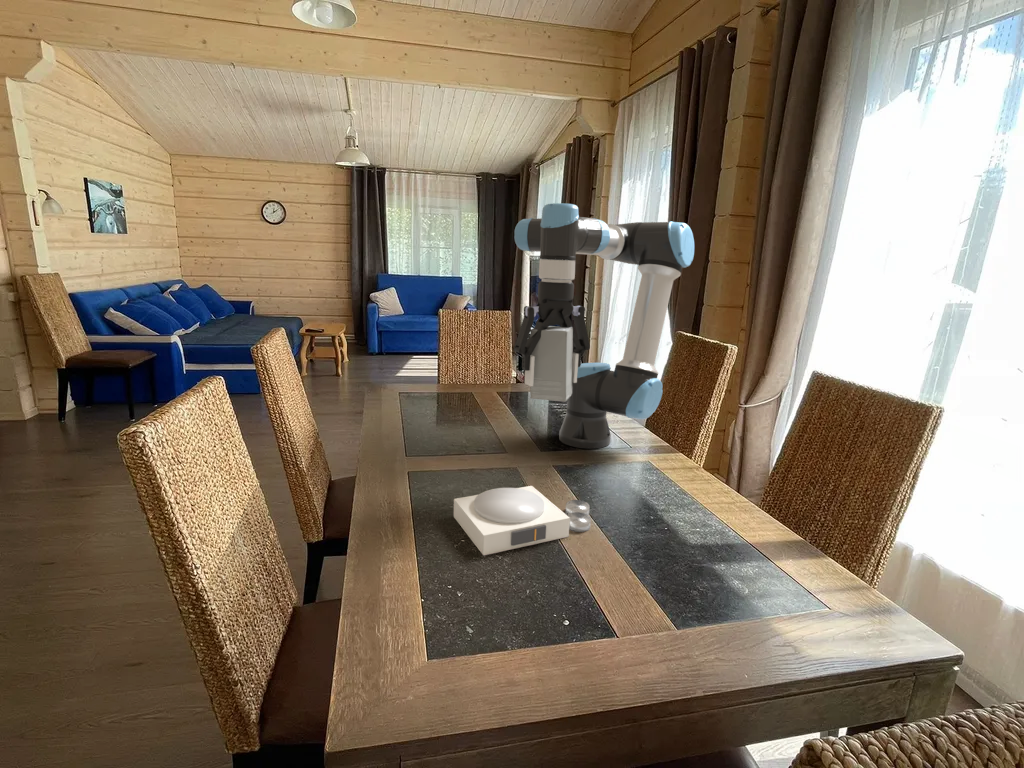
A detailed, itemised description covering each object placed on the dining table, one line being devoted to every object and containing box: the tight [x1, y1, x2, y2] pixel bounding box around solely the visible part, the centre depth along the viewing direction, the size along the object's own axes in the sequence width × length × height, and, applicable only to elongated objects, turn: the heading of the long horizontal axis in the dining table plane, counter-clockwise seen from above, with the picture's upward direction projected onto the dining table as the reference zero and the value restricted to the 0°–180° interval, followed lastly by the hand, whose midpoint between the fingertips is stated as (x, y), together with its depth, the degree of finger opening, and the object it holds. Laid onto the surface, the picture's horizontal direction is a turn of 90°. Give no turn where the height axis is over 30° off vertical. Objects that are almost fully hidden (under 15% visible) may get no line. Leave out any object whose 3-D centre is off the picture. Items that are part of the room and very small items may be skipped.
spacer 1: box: [565, 499, 591, 516], centre depth 116 cm, size 5×5×2 cm
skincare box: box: [529, 325, 574, 403], centre depth 119 cm, size 8×7×16 cm
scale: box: [453, 485, 570, 556], centre depth 109 cm, size 18×17×5 cm
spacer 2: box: [566, 512, 592, 533], centre depth 110 cm, size 5×5×2 cm
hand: (550, 383), depth 120 cm, fingers closed on skincare box, 10 cm apart
